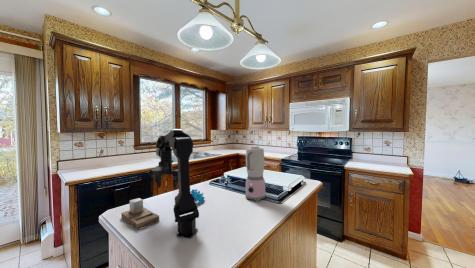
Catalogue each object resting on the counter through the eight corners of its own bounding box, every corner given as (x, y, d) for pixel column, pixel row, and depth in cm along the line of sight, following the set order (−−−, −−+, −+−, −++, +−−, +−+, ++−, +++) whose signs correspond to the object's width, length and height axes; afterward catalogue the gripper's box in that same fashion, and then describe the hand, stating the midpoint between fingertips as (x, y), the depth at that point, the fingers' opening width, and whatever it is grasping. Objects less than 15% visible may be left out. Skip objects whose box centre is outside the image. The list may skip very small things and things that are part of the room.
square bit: (143, 215, 96) (142, 199, 95) (133, 219, 92) (133, 202, 92) (139, 213, 98) (138, 197, 98) (130, 216, 95) (129, 200, 95)
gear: (198, 204, 106) (189, 189, 110) (192, 210, 107) (182, 196, 111) (208, 199, 117) (199, 186, 120) (202, 206, 118) (193, 193, 121)
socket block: (159, 220, 91) (159, 215, 91) (137, 229, 83) (137, 224, 83) (142, 211, 102) (142, 206, 102) (121, 217, 95) (121, 212, 95)
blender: (251, 193, 127) (250, 145, 126) (268, 196, 121) (268, 146, 120) (239, 201, 114) (238, 147, 113) (257, 205, 107) (257, 148, 107)
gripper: (140, 161, 96) (141, 191, 97) (172, 162, 92) (173, 194, 92) (155, 157, 107) (155, 185, 108) (184, 158, 102) (185, 187, 103)
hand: (167, 188), depth 102 cm, fingers open, 9 cm apart
